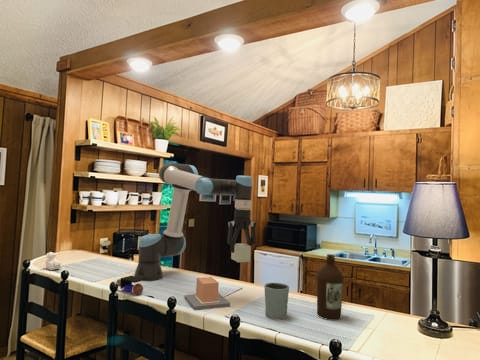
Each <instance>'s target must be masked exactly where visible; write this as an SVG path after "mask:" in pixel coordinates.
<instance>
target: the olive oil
mask: <svg viewBox="0 0 480 360" xmlns="http://www.w3.org/2000/svg"><path fill="white" fill-rule="evenodd" d="M335 256H336V255H335V254H332V253H328V254H326V263H325V264H324V265H323V266H322V267H321V268H320V269H319V270H318V272H317V274H316V297H317V298H316V299H317V301H316V314H318V315H319V316H321V317H323V318H322V319H324V318H327V319H326V320H328V319H337V320H340V319H341V318H342V306H343V305H342V301H343V290H344V274H343V272H341V270H340V269H339V268H338V267H337V266H336V264H335V263H336V258H335ZM318 315H317V316H318ZM319 316H318V317H319ZM321 317H320V318H321ZM340 317H341V318H340ZM339 318H340V319H339Z"/></svg>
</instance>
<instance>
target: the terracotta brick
mask: <svg viewBox="0 0 480 360" xmlns="http://www.w3.org/2000/svg"><path fill="white" fill-rule="evenodd" d="M219 284H220V282H219V281H217V280H216V279H215V278H214V277H212V276H205V277H204V276H203V277H196V286H195V287H196V288H195V294H196V296H197V297H198V298H199V300H200V301H201V302H202V303H204V302H215V301H218V293H219Z"/></svg>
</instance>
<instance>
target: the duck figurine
mask: <svg viewBox="0 0 480 360" xmlns="http://www.w3.org/2000/svg"><path fill="white" fill-rule="evenodd" d="M45 255H46V258H47V259H46V261H45V267H46V269H47V270H48V269H49V271H54V270H55V269H60V270H61V268H62V264H61V261H59V260H58V259H57V258H56V257H57V254H56V253H54V252H52V251H49V252H47V253H46V254H45ZM55 271H56V270H55Z"/></svg>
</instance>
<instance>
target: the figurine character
mask: <svg viewBox="0 0 480 360" xmlns="http://www.w3.org/2000/svg"><path fill="white" fill-rule="evenodd" d="M144 280H146V279H144V278H140V277H136V276H134V275H128V276H124V277H123V276H122V277H120V279H117V280H116V284H117V283H118V286H119V289H121V290H122V292H131V293H132V294H134V295H135V296H139V295H141V294H142V293H143V291H144V286H143V285H142V284H141V283H140V282H144ZM133 283H134V284H133ZM118 286H117V287H118Z"/></svg>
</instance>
